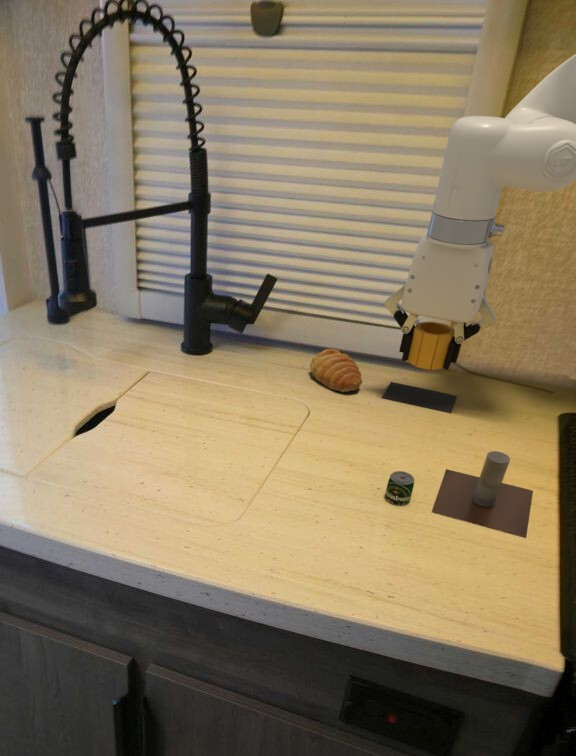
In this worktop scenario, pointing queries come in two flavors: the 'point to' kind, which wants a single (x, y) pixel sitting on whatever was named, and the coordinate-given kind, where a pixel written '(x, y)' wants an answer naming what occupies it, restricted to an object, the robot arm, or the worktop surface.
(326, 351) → the pastry
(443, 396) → the mat
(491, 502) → the stand
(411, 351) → the sleeve
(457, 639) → the worktop surface
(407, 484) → the beer can
